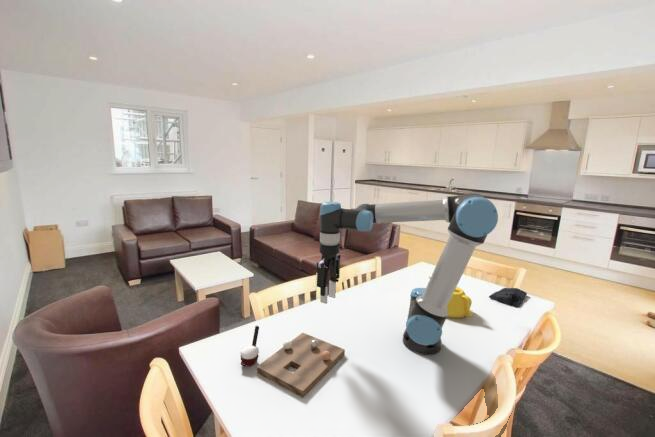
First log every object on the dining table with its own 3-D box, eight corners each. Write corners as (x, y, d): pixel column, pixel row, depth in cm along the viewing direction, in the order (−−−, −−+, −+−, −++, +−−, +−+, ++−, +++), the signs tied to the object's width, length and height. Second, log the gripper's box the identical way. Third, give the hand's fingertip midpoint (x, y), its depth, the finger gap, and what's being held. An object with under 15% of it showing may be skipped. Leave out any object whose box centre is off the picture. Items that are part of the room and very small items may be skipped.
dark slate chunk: (531, 297, 174) (533, 289, 173) (517, 309, 160) (518, 300, 159) (502, 288, 186) (503, 281, 185) (486, 298, 172) (487, 290, 171)
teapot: (416, 304, 162) (418, 279, 160) (438, 296, 172) (440, 273, 169) (459, 326, 142) (462, 298, 139) (481, 316, 152) (484, 289, 149)
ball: (319, 347, 119) (320, 339, 119) (315, 351, 117) (315, 344, 116) (313, 344, 121) (313, 337, 120) (308, 348, 118) (308, 341, 118)
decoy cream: (293, 347, 118) (293, 340, 118) (288, 352, 116) (288, 344, 115) (287, 345, 120) (287, 337, 120) (281, 349, 118) (281, 341, 117)
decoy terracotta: (332, 358, 113) (332, 350, 112) (327, 363, 110) (327, 355, 109) (324, 355, 114) (325, 347, 114) (320, 360, 112) (320, 352, 111)
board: (344, 355, 119) (344, 349, 118) (302, 398, 97) (302, 391, 97) (302, 338, 129) (302, 332, 129) (256, 373, 108) (256, 366, 107)
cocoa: (243, 373, 108) (241, 343, 105) (234, 363, 113) (233, 334, 110) (266, 360, 115) (265, 332, 112) (258, 352, 119) (256, 324, 116)
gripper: (333, 236, 128) (332, 289, 132) (307, 246, 113) (306, 306, 117) (349, 239, 124) (347, 294, 129) (324, 250, 109) (322, 311, 113)
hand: (328, 299), depth 123 cm, fingers open, 5 cm apart
